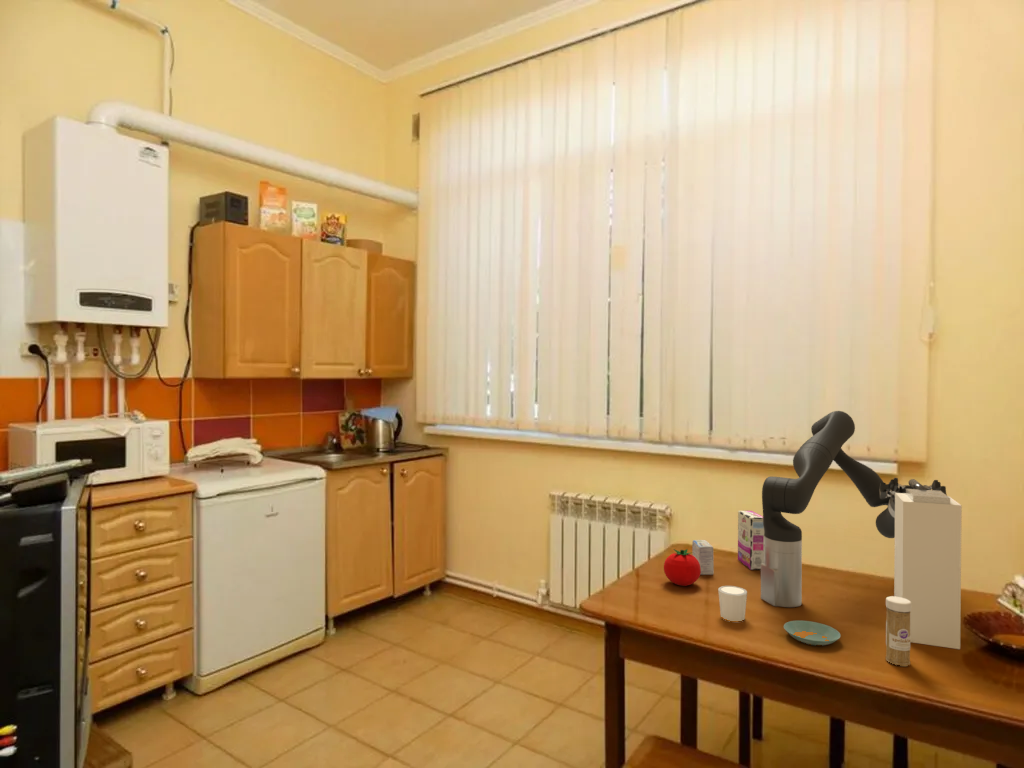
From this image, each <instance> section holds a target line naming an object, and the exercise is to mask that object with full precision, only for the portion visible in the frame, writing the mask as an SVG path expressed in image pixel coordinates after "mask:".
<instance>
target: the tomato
mask: <svg viewBox="0 0 1024 768" xmlns="http://www.w3.org/2000/svg"><path fill="white" fill-rule="evenodd" d="M673 550H674V552H672V553H670V555H668V556H667V557H666V559H665V560H664V563H663V571H664V574H665V577H666V578H667V579H668V580H669V581H670V582H671V583H673V584H675V585H678V586H683V587H684V586H690V585H693V584H694V583H696V581H698V580H699V578H700V576H701V575H700V574H701V568H700V564H699V561H698V560H697V559H696V558H695V557H694V556H693V553H694V552H693V551H692V553H691V552H688V548H687V549H685V550H684V549H680V550H676V549H674V548H673Z"/></svg>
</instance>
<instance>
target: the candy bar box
mask: <svg viewBox="0 0 1024 768" xmlns="http://www.w3.org/2000/svg"><path fill="white" fill-rule="evenodd" d="M737 514H738V515H737V560H738V562H740V563H741V564H742V563H743V566H745V567H746V566H747V567H746V568H748V569H749V570H750V571H761V564H763V563H764V526H763V515H761V514H758V512H755V511H754V510H738V511H737Z"/></svg>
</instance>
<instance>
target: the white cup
mask: <svg viewBox="0 0 1024 768" xmlns="http://www.w3.org/2000/svg"><path fill="white" fill-rule="evenodd" d="M717 590H718V591H717V592H718V599H719V612H720V617H723V618H724V619H727V620H730V621H742V620H744V621H745V618H746V608H747V607H746V606H747V597H748V591H747V589H745V588H743V587H739V586H735V585H722V586H720V587H718V589H717ZM724 619H723V620H724ZM730 621H729V622H730ZM742 622H743V621H742Z"/></svg>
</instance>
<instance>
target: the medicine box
mask: <svg viewBox="0 0 1024 768" xmlns="http://www.w3.org/2000/svg"><path fill="white" fill-rule="evenodd" d="M691 544H692V550H691V551H692V555H693V556H694V557H695V558H696V559H697V560H698V561H699V564H700V568H701V574H700V576H706V575H707V576H713V575H714V567H715V566H714V546H713V545H712V544H711V543H709V541H707V540H705V539H694V540H693V539H692V543H691ZM693 552H694V553H693Z"/></svg>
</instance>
